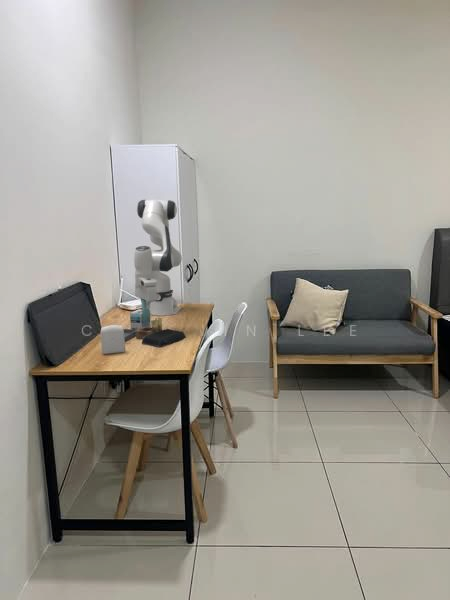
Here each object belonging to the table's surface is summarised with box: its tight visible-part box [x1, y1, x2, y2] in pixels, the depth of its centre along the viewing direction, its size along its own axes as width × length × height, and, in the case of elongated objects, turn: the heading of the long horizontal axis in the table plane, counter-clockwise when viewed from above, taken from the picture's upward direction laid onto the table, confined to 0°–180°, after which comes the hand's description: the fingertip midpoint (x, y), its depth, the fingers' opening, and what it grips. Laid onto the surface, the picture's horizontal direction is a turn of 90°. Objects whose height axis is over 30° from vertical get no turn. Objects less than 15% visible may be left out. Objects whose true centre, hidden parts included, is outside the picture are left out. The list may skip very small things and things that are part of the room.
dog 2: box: [154, 317, 163, 331], centre depth 237 cm, size 3×3×7 cm
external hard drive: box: [141, 328, 186, 348], centre depth 220 cm, size 13×19×4 cm
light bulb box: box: [129, 308, 152, 330], centre depth 238 cm, size 11×7×11 cm, turn 164°
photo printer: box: [100, 324, 126, 355], centre depth 203 cm, size 10×4×12 cm, turn 105°
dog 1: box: [150, 319, 158, 331], centre depth 232 cm, size 3×3×7 cm
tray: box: [123, 328, 137, 343], centre depth 227 cm, size 14×9×2 cm, turn 164°
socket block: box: [135, 327, 157, 340], centre depth 227 cm, size 8×8×4 cm
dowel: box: [140, 299, 151, 322], centre depth 225 cm, size 4×4×11 cm
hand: (145, 307), depth 225 cm, fingers closed on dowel, 4 cm apart
